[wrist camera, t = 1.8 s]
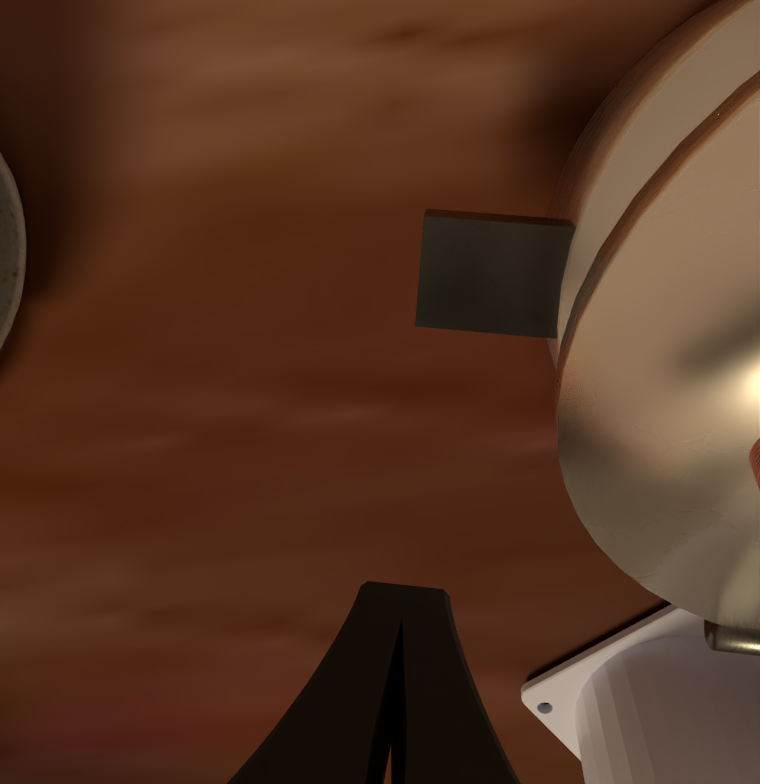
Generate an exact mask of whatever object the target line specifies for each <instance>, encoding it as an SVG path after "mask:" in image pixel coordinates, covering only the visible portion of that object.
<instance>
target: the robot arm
mask: <svg viewBox="0 0 760 784" xmlns="http://www.w3.org/2000/svg"><path fill="white" fill-rule="evenodd" d="M521 696H522V701H523V703H524V704H525V705H526V706H527V707H528V708H529V709H530V710H531V711H532V712H533V713H534V714H535V715H536V716H537V717H538V718H539V719H540V720H541V721H542V722H543V723H544V724H545V725H546V726H547V727H548V728H549V729H550V730H551V731H552V732H553V733H554V734H555V735H556V736H557V737H558V738H559V739H560V740H561V741H562V742H563V743H564V744H565V746H566V747H567V748H568V749H569V750H570V751H571V752H572V753H573V754H574V755H575V756H576V757H577V758H578V759H579V760H580V761H581V762H582V768H583V774H584V779H585V784H760V656H754V655H746V654H738V653H730V652H722V651H713V650H711V649H710V648H709V647H708V645H707V643H706V639H705V634H704V619H703V618H701V617H699V616H697V615H694V614H692V613H690V612H688V611H685V610H683V609H681V608H679V607H676V606H675V605H673V604H671V605H669V606H667V607H665V608H664V609H662V610H660V611H658V612H656V613H654V614H652V615H651V616H649V617H647V618H645V619H643V620H641V621H639V622H638V623H636V624H634V625H632V626H630V627H628V628H627V629H625V630H623V631H621V632H619V633H617V634H615V635H614V636H612V637H610V638H608V639H606V640H604V641H602V642H601V643H599V644H597V645H595V646H593V647H591V648H590V649H588V650H586V651H584V652H582V653H580V654H578V655H577V656H575V657H573V658H571V659H569V660H567V661H565V662H564V663H562V664H560V665H558V666H556V667H554V668H553V669H551V670H549V671H547V672H545V673H543V674H541V675H540V676H538V677H536V678H534V679H532V680H530V681H528V682H527V683H525V684H524V685H523V686H522V688H521ZM543 702H545V703H549V704H546V705H542V704H540V703H543ZM390 746H391V784H520V782H519V780H518V778H517V776H516V774H515V772H514V770H513V768H512V766H511V764H510V762H509V760H508V758H507V756H506V754H505V752H504V750H503V748H502V746H501V744H500V742H499V739H498V737H497V735H496V733H495V731H494V729H493V727H492V724H491V722H490V720H489V718H488V715H487V713H486V711H485V708H484V706H483V704H482V701H481V698H480V696H479V693H478V691H477V688H476V686H475V683H474V681H473V678H472V676H471V673H470V670H469V668H468V665H467V662H466V659H465V656H464V653H463V650H462V647H461V644H460V640H459V637H458V634H457V630H456V627H455V623H454V619H453V614H452V609H451V604H450V596H449V595H448V594H447V593H446V592H445V591H444V589H435V588H426V587H417V586H408V585H399V584H389V583H380V582H371V581H368V582H366V583H365V584H363V585H362V586H361V587H360V589H359V592H358V595H357V598H356V600H355V602H354V604H353V606H352V609H351V611H350V613H349V615H348V617H347V619H346V621H345V622H344V624H343V626H342V628H341V630H340V631H339V633H338V635H337V637H336V639H335V640H334V642H333V644H332V645H331V647H330V648H329V650H328V652H327V653H326V655H325V656H324V658H323V660H322V661H321V663H320V664H319V666H318V668H317V669H316V671H315V672H314V674H313V675H312V677H311V678H310V680H309V681H308V683H307V684H306V686H305V687H304V688H303V690H302V691H301V692H300V694H299V695H298V697H297V698H296V699H295V701H294V702H293V704H292V705H291V706H290V708H289V709H288V710H287V712H286V713H285V715H284V716H283V717H282V719H281V720H280V721H279V723H278V724H277V725H276V726H275V728H274V729H273V730H272V731H271V733H270V734H269V735H268V737H267V738H266V739H265V740H264V741H263V743H262V744H261V745H260V746H259V748H258V749H257V750H256V751H255V752H254V753H253V755H252V756H251V757H250V758H249V759H248V760H247V762H246V763H245V764H244V765H243V766H242V767H241V769H240V770H239V771H238V772H237V773H236V774H235V775H234V776H233V777H232V779H231V780H230V781H229V782H228V783H227V784H383V783H384V778H385V773H386V768H387V762H388V757H389V752H390Z"/></svg>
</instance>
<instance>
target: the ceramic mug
mask: <svg viewBox="0 0 760 784" xmlns="http://www.w3.org/2000/svg"><path fill="white" fill-rule="evenodd" d="M26 245H27V240H26V227H25V218H24V215H23V206H22V202H21V199H20V195H19V192H18V189H17V186H16V183H15V180H14V176H13V174H12V173H11V171H10V169H9V167H8V165H7V164H6V162H5V160H4V158H3V156H2V154H1V152H0V350H1V348H2V345H3V343H4V341H5V339H6V337H7V335H8V334H9V332H10V330H11V328H12V324H13V321H14V318H15V315H16V313H17V310H18V308H19V305H20V301H21V296H22V291H23V285H24V279H25V272H26Z"/></svg>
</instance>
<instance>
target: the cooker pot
mask: <svg viewBox="0 0 760 784" xmlns="http://www.w3.org/2000/svg"><path fill="white" fill-rule="evenodd" d="M759 70H760V0H719V1H717V2H716V3H714V4H712V5H711V6H709V7H707V8H706V9H704V10H702V11H701V12H699V13H697V14H695V15H694V16H692V17H691V18H690V19H688V20H687V21H686V22H685V23H683V24H682V25H681V26H679V27H678V28H677V29H675V30H674V31H673V32H671V33H670V34H669V35H667V36H666V37H665V38H663V39H662V40H661V41H660V42H658V43H657V44H656V45H655V46H654V47H653V48H652V49H651V50H650V51H649V52H648V53H647V54H646V55H645V56H644V57H643V58H641V59H640V60H639V61H638V62H637V63H636V64H635V65H634V66H633V67H632V68H631V69H630V70H629V71H628V72H627V73H626V74H625V75H624V76H623V78H622V79H621V80H620V81H619V83H618V84H617V85H616V86H615V87H614V89H613V90H612V91H611V92H610V93H609V95H608V96H607V97H606V98H605V99H604V101H603V102H602V103H601V104H600V105H599V107H598V109H597V110H596V112H595V113H594V115H593V116H592V118H591V119H590V121H589V122H588V124H587V125H586V127H585V128H584V130H583V132H582V133H581V135H580V136H579V138H578V139H577V141H576V143H575V145H574V147H573V149H572V151H571V153H570V155H569V158H568V160H567V162H566V164H565V166H564V168H563V170H562V172H561V174H560V177H559V179H558V182H557V185H556V188H555V191H554V194H553V196H552V199H551V202H550V205H549V208H548V212H547V217H546V218H543V217H530V216H517V215H504V214H490V213H477V212H464V211H450V210H437V209H426V212H425V215H424V222H423V235H422V247H421V260H420V272H419V285H418V297H417V310H416V322H415V326H419V327H430V328H441V329H452V330H463V331H474V332H486V333H497V334H508V335H519V336H530V337H542V338H546V341H547V344H548V347H549V350H550V353H551V356H552V359H553V363H554V366H555V369H556V371H557V364H558V358H559V351H560V345H561V341H562V338H563V335H564V331H565V328H566V325H567V322H568V319H569V316H570V313H571V310H572V307H573V304H574V300H575V298H576V296H577V294H578V291H579V289H580V287H581V285H582V283H583V281H584V279H585V277H586V275H587V273H588V271H589V269H590V267H591V265H592V263H593V261H594V259H595V257H596V255H597V253H598V251H599V249H600V247H601V246H602V244H603V243H604V241H605V240H606V238H607V237H608V235H609V234H610V232H611V231H612V229H613V228H614V226H615V225H616V223H617V222H618V220H619V219H620V217H621V216H622V214H623V213H624V211H625V210H626V208H627V207H628V205H629V204H630V202H631V201H632V199H633V198H634V196H635V195H636V194H637V193H638V192H639V191H640V189H641V188H642V187H643V186H644V185H645V183H646V182H647V181H648V180H649V179H650V178H651V176H652V175H653V174H654V173H655V172H656V170H657V169H658V168H659V167H660V166H661V165H662V163H663V162H664V161H665V160H666V159H667V157H668V156H669V155H670V154H671V153H672V152H673V150H674V149H675V148H676V147H677V146H678V145H679V143H680V142H681V141H682V140H683V139H684V138H685V137H686V136H688V135H689V134H690V133H691V132H692V131H693V130H694V129H695V128H696V127H697V126H698V125H699V124H700V123H701V122H702V121H703V120H704V119H705V118H706V117H707V116H709V115H710V114H711V113H712V112H713V111H714V110H715V109H716V108H717V107H718V106H719V105H720V104H721V103H722V102H723V101H724V100H725V99H726V98H727V97H728V96H730V95H731V94H732V93H733V92H734V91H735V90H736V89H737V88H738V87H739V86H740V85H741V84H743V83H744V82H745V81H747V80H748V79H749V78H750V77H752V76H753V75H754V74H756V73H757V72H758V71H759Z"/></svg>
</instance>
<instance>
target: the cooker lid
mask: <svg viewBox="0 0 760 784" xmlns="http://www.w3.org/2000/svg"><path fill="white" fill-rule="evenodd" d="M554 389H555V424H556V436H557V447H558V454H559V459H560V464H561V468H562V473H563V478H564V482H565V486H566V489H567V491H568V493H569V496H570V498H571V500H572V503H573V505H574V507H575V510H576V512H577V514H578V517H579V518H580V520H581V521H582V523H583V524H584V526H585V527H586V529H587V530H588V532H589V533H590V535H591V536H592V538H593V539H594V541H595V542H596V544H597V545H598V546H599V547H600V548H601V549H602V550H603V551H604V552H605V553H606V554H607V555H608V556H609V557H610V559H611V560H612V561H613V562H614V563H615V564H616V565H617V566H618V567H619V568H620V569H621V570H623V571H624V572H625V573H627V574H628V575H629V576H630V577H632V578H633V579H634V580H636V581H637V582H638V583H639V584H641V585H642V586H643V587H644V588H646V589H648V590H649V591H651V592H653V593H654V594H656V595H658V596H659V597H661V598H663V599H664V600H666V601H668V602H670V603H671V604H673V605H675V606H676V607H679V608H681V609H683V610H685V611H688V612H690V613H692V614H694V615H697V616H699V617H701V618H703V619H704V634H705V639H706V643H707V645H708V647H709V648H710V649H711V650H713V651H722V652H730V653H738V654H746V655H754V656H760V70H759V71H758V72H757V73H756V74H754V75H753V76H752V77H750V78H749V79H748V80H747V81H745V82H744V83H743V84H741V85H740V86H739V87H738V88H737V89H736V90H735V91H734V92H733V93H732V94H731V95H730V96H728V97H727V98H726V99H725V100H724V101H723V102H722V103H721V104H720V105H719V106H718V107H717V108H716V109H715V110H714V111H713V112H712V113H711V114H710V115H709V116H707V117H706V118H705V119H704V120H703V121H702V122H701V123H700V124H699V125H698V126H697V127H696V128H695V129H694V130H693V131H692V132H691V133H690V134H689V135H688V136H686V137H685V138H684V139H683V140H682V141H681V142H680V143H679V145H678V146H677V147H676V148H675V149H674V150H673V152H672V153H671V154H670V155H669V156H668V157H667V159H666V160H665V161H664V162H663V163H662V165H661V166H660V167H659V168H658V169H657V170H656V172H655V173H654V174H653V175H652V176H651V178H650V179H649V180H648V181H647V182H646V183H645V185H644V186H643V187H642V188H641V189H640V191H639V192H638V193H637V194H636V195H635V196H634V198H633V199H632V201H631V202H630V204H629V205H628V207H627V208H626V210H625V211H624V213H623V214H622V216H621V217H620V219H619V220H618V222H617V223H616V225H615V226H614V228H613V229H612V231H611V232H610V234H609V235H608V237H607V238H606V240H605V241H604V243H603V244H602V246H601V247H600V249H599V251H598V253H597V255H596V257H595V259H594V261H593V263H592V265H591V267H590V269H589V271H588V273H587V275H586V277H585V279H584V281H583V283H582V285H581V287H580V289H579V291H578V294H577V296H576V298H575V300H574V304H573V307H572V310H571V313H570V316H569V319H568V322H567V325H566V328H565V331H564V335H563V338H562V341H561V345H560V351H559V358H558V364H557V371H556V377H555V384H554Z"/></svg>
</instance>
